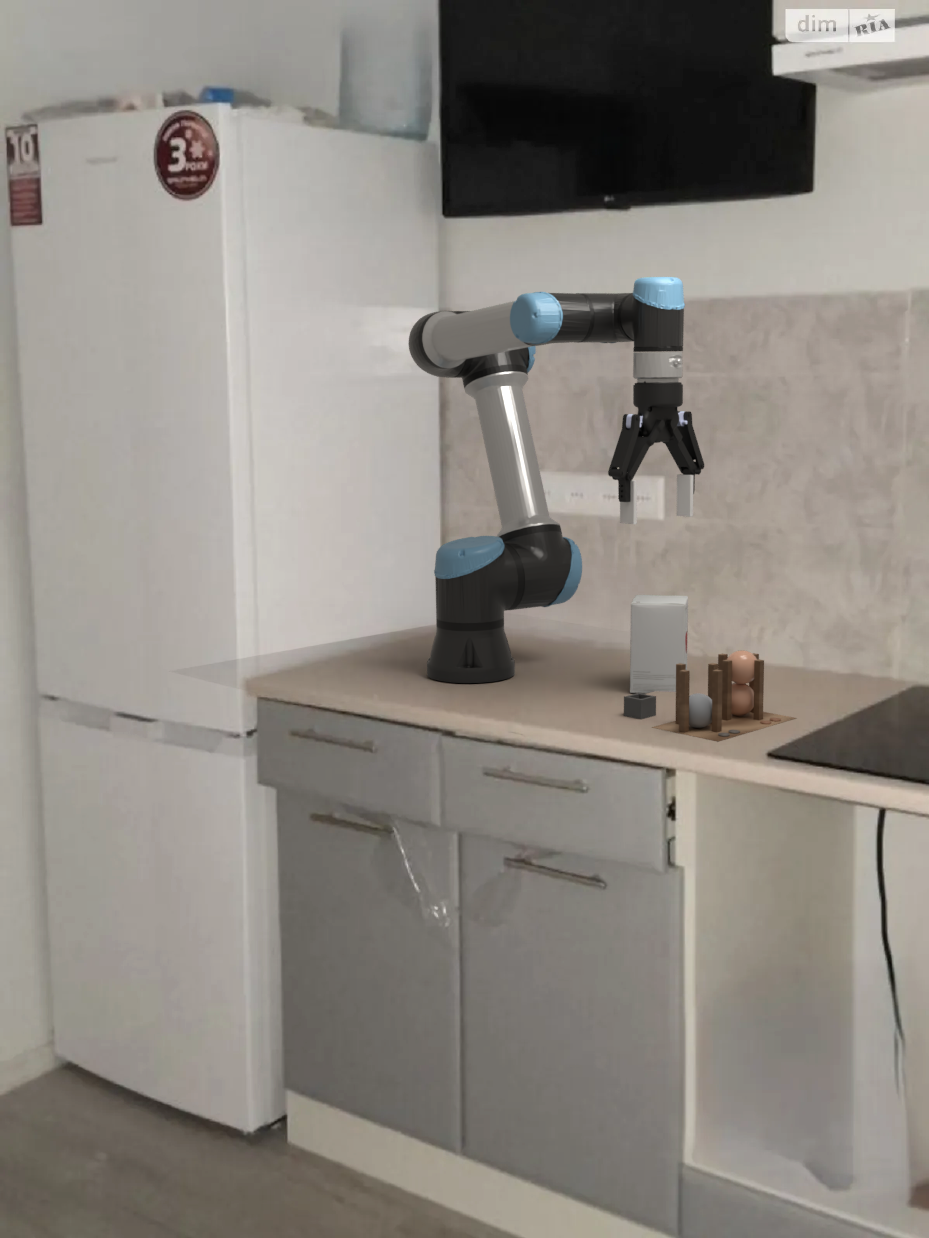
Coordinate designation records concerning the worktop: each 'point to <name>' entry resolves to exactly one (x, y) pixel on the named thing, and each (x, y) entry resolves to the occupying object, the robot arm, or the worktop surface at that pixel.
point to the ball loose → (742, 666)
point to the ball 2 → (742, 699)
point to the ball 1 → (700, 710)
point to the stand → (639, 706)
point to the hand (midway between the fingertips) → (657, 520)
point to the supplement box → (657, 642)
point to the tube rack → (722, 704)
